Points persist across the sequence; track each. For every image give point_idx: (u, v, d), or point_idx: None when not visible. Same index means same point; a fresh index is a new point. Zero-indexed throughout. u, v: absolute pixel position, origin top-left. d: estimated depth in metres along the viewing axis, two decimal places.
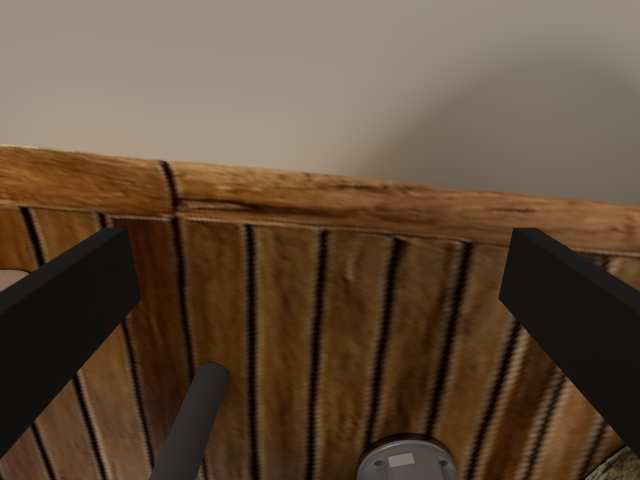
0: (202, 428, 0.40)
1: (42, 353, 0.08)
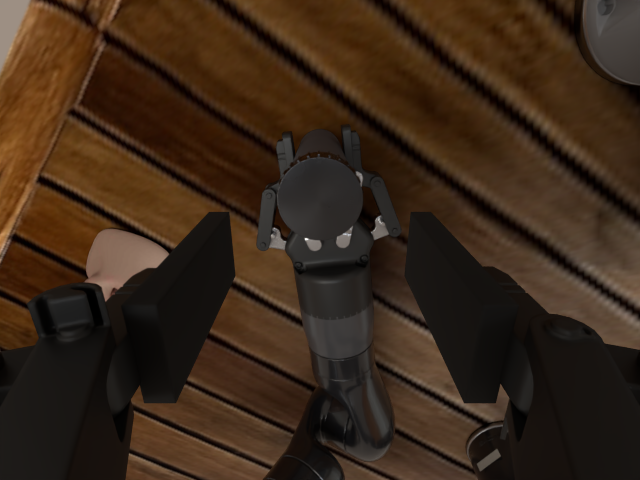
0: (316, 140, 0.28)
1: (196, 311, 0.10)
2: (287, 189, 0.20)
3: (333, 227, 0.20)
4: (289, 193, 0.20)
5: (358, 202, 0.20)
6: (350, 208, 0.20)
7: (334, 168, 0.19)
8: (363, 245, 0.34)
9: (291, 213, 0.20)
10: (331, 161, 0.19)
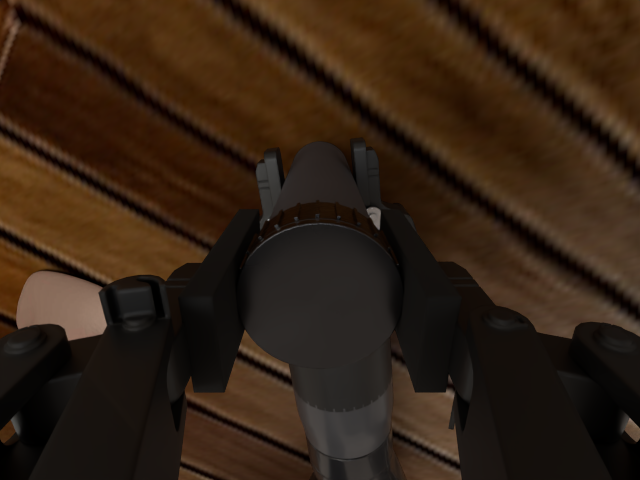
0: (314, 164, 0.18)
1: None
2: (255, 282, 0.10)
3: (345, 347, 0.11)
4: (259, 289, 0.10)
5: (395, 305, 0.10)
6: (379, 315, 0.10)
7: (349, 244, 0.10)
8: None
9: (264, 324, 0.10)
10: (343, 231, 0.09)
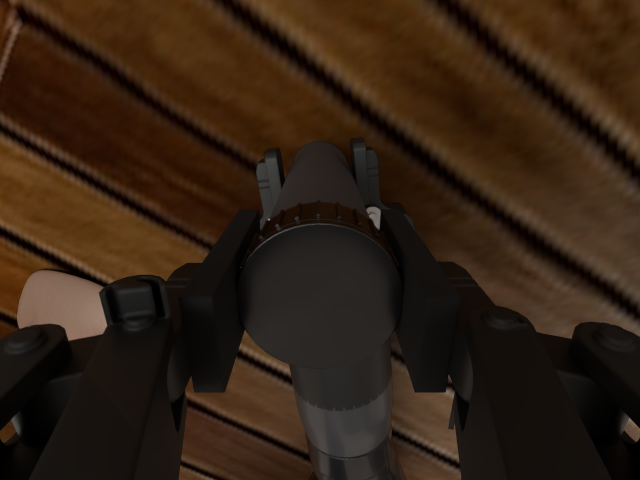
0: (314, 164, 0.18)
1: None
2: (290, 350, 0.11)
3: (379, 285, 0.10)
4: (298, 349, 0.11)
5: (334, 233, 0.09)
6: (344, 249, 0.10)
7: (258, 270, 0.10)
8: None
9: (337, 350, 0.11)
10: (244, 274, 0.10)
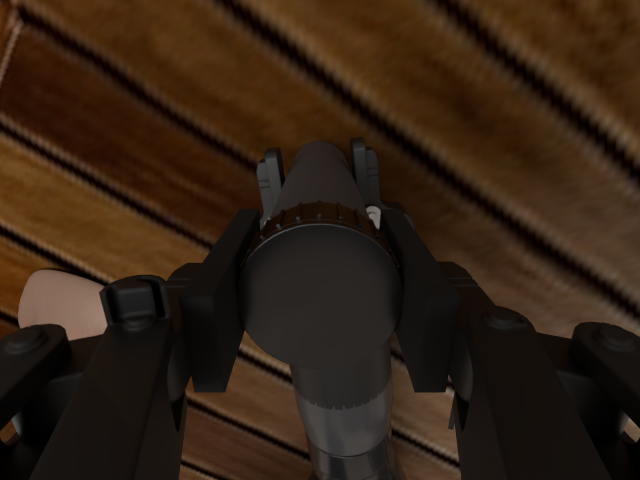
0: (314, 164, 0.18)
1: None
2: (372, 334, 0.11)
3: (307, 247, 0.10)
4: (371, 327, 0.10)
5: (246, 282, 0.10)
6: (263, 275, 0.10)
7: (279, 346, 0.11)
8: None
9: (381, 293, 0.10)
10: (281, 358, 0.11)
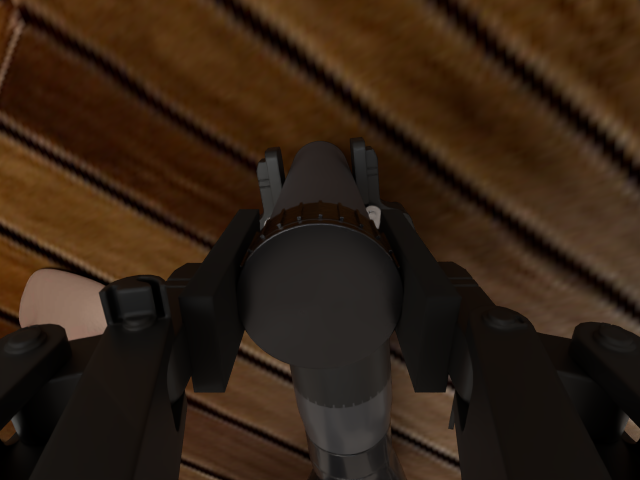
0: (314, 163, 0.19)
1: None
2: (367, 258, 0.10)
3: (258, 306, 0.10)
4: (358, 258, 0.10)
5: (289, 357, 0.11)
6: (283, 343, 0.11)
7: (365, 343, 0.11)
8: None
9: (317, 245, 0.10)
10: (379, 343, 0.11)
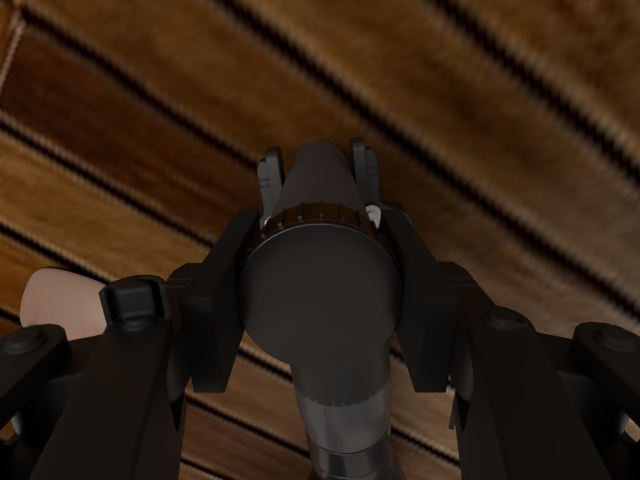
0: (314, 163, 0.19)
1: None
2: (274, 256, 0.10)
3: (315, 352, 0.11)
4: (274, 264, 0.10)
5: (380, 336, 0.11)
6: (361, 338, 0.11)
7: (377, 266, 0.10)
8: None
9: (257, 297, 0.10)
10: (380, 252, 0.10)
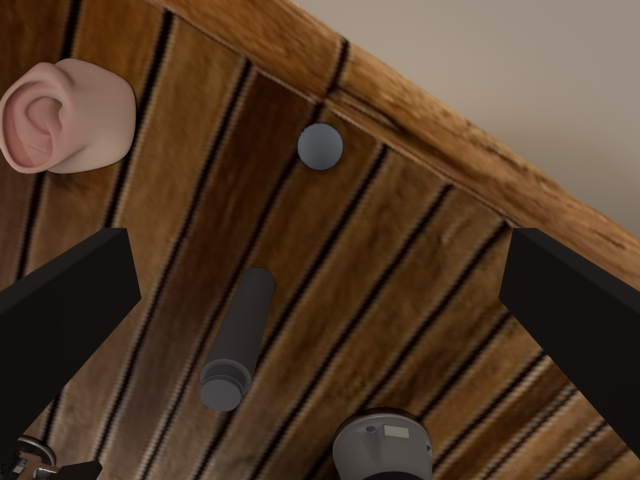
0: (262, 323, 0.37)
1: (42, 353, 0.08)
2: (305, 157, 0.38)
3: (336, 150, 0.38)
4: (307, 157, 0.38)
5: (333, 131, 0.37)
6: (333, 136, 0.38)
7: (311, 130, 0.37)
8: None
9: (316, 163, 0.39)
10: (307, 129, 0.37)
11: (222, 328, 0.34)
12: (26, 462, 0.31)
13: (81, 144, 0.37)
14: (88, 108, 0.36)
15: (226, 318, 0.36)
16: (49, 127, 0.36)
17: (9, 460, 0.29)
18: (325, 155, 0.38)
